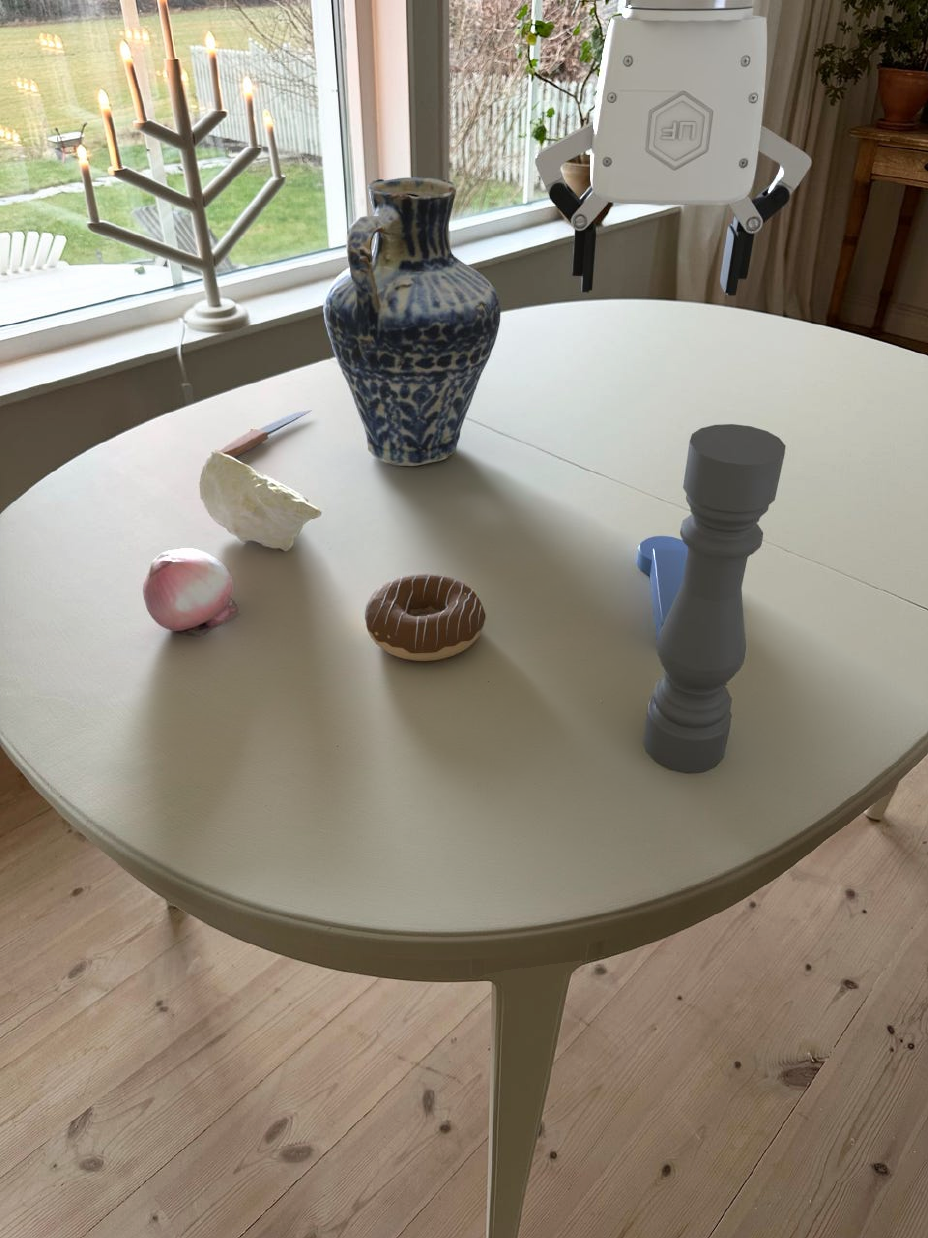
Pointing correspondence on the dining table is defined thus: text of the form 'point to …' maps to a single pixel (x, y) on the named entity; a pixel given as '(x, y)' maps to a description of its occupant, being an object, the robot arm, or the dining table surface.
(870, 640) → the dining table surface
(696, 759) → the candle holder
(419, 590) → the donut
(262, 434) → the knife
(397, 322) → the jug
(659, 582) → the spoon
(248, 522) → the cheese
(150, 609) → the onion
